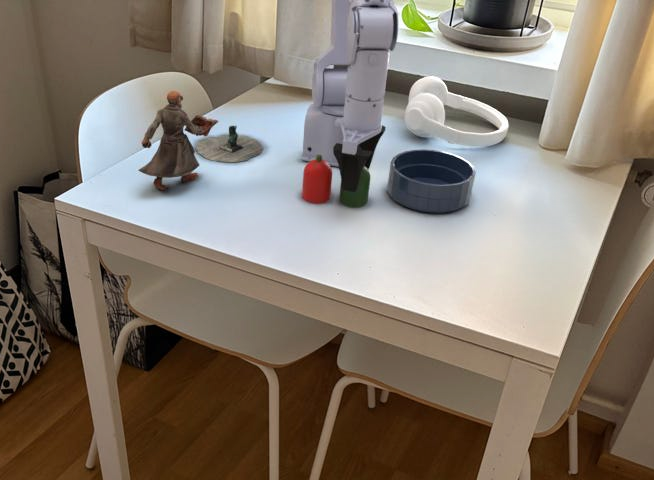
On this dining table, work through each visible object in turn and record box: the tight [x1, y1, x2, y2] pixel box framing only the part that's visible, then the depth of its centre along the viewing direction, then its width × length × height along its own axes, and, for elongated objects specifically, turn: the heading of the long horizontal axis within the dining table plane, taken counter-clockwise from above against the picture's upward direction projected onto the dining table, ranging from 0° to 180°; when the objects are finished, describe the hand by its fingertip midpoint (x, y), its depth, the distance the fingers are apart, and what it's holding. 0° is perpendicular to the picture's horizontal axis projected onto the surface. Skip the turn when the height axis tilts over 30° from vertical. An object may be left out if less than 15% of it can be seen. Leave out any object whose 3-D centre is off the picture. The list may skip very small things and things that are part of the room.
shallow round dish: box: [386, 148, 477, 214], centre depth 122 cm, size 14×14×5 cm
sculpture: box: [194, 125, 265, 163], centre depth 135 cm, size 12×9×8 cm
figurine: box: [138, 90, 219, 191], centre depth 118 cm, size 14×7×15 cm, turn 110°
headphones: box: [404, 75, 510, 147], centre depth 144 cm, size 20×8×20 cm
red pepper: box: [301, 155, 333, 204], centre depth 119 cm, size 5×5×7 cm
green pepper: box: [338, 166, 371, 209], centre depth 119 cm, size 5×5×7 cm
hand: (355, 180), depth 119 cm, fingers open, 7 cm apart
